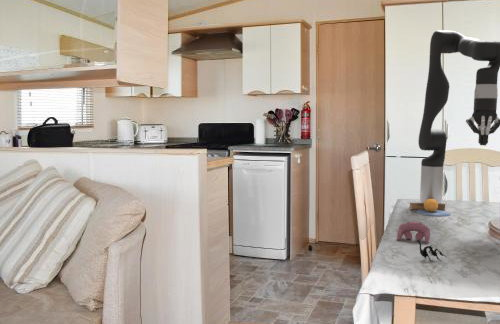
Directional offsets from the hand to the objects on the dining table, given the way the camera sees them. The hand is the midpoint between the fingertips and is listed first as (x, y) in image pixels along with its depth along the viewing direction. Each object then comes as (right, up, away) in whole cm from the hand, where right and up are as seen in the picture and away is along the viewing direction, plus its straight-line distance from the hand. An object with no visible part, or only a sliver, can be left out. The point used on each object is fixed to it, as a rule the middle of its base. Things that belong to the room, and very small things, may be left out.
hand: (482, 145), depth 182 cm
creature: (-34, -34, -43) cm, 65 cm away
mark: (-10, -27, +21) cm, 36 cm away
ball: (-10, -24, +23) cm, 35 cm away
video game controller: (-33, -31, -22) cm, 51 cm away
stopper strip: (-10, -26, +29) cm, 40 cm away
